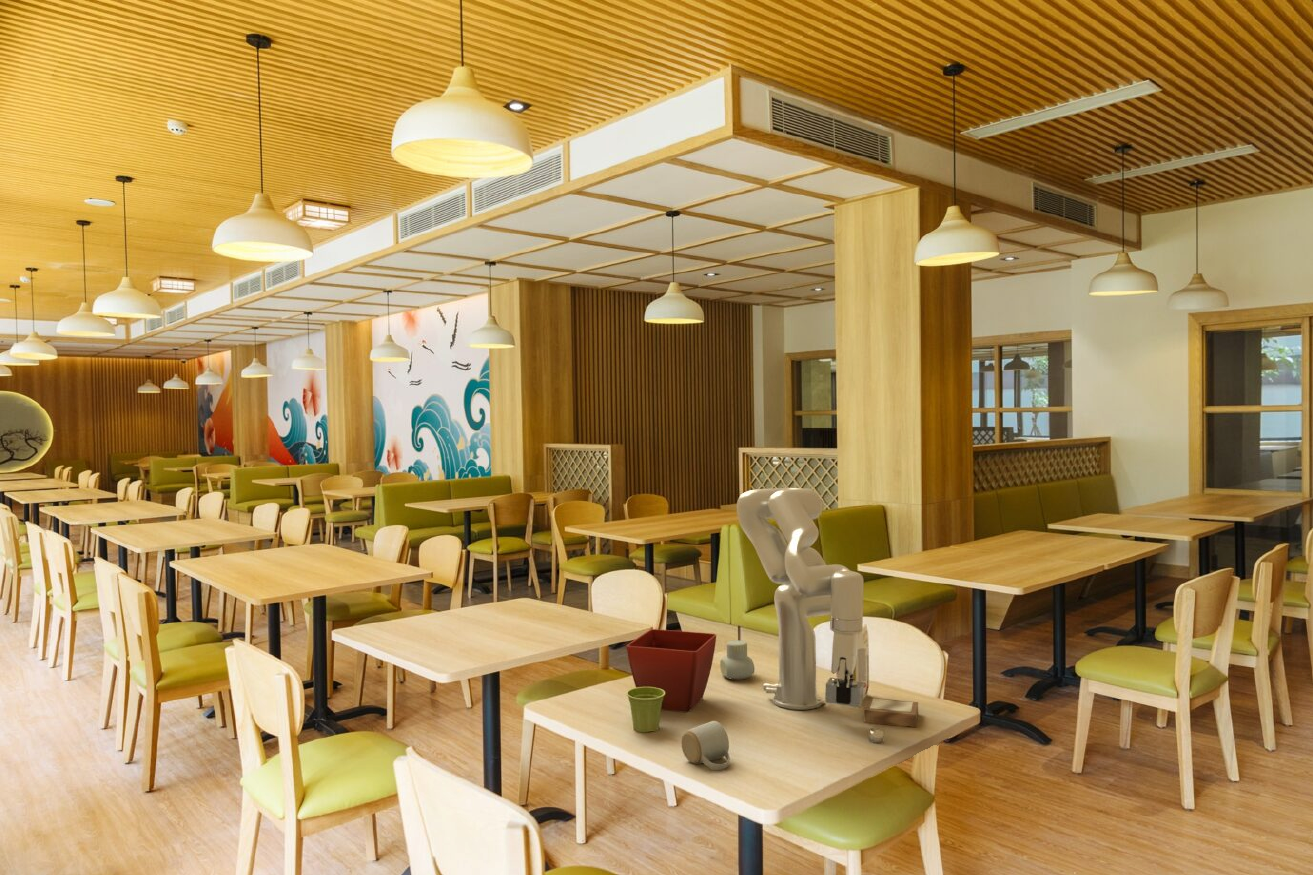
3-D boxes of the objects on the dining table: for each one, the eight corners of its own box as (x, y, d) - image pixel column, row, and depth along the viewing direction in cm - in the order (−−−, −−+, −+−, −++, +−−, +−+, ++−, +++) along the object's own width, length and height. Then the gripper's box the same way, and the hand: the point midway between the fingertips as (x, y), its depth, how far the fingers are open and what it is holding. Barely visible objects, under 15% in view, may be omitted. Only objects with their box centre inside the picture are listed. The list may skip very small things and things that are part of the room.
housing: (825, 702, 202) (825, 681, 201) (829, 695, 206) (830, 675, 206) (859, 707, 198) (859, 686, 198) (863, 700, 203) (863, 679, 203)
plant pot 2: (697, 718, 210) (696, 650, 210) (625, 711, 216) (624, 645, 216) (718, 695, 228) (717, 633, 228) (651, 689, 234) (651, 628, 234)
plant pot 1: (671, 723, 206) (670, 688, 206) (658, 737, 197) (657, 700, 197) (635, 720, 209) (634, 685, 209) (621, 733, 200) (620, 696, 200)
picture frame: (864, 722, 205) (864, 708, 205) (868, 709, 215) (868, 696, 215) (916, 727, 201) (915, 713, 201) (918, 714, 211) (918, 701, 211)
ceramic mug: (678, 758, 184) (678, 723, 184) (708, 750, 189) (708, 716, 189) (709, 775, 175) (709, 738, 175) (739, 766, 180) (739, 730, 180)
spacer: (869, 743, 192) (868, 731, 192) (870, 738, 195) (870, 727, 195) (882, 744, 191) (882, 733, 191) (884, 739, 194) (883, 729, 194)
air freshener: (756, 681, 240) (756, 646, 240) (728, 683, 239) (728, 648, 239) (745, 671, 251) (745, 637, 251) (718, 672, 250) (718, 639, 250)
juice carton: (870, 694, 227) (869, 623, 227) (864, 703, 220) (863, 630, 219) (842, 690, 231) (841, 621, 230) (835, 700, 223) (834, 627, 223)
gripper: (835, 613, 210) (834, 685, 211) (824, 631, 194) (823, 709, 195) (866, 616, 208) (864, 688, 209) (858, 635, 192) (856, 713, 193)
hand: (844, 697), depth 202 cm, fingers closed on housing, 5 cm apart
